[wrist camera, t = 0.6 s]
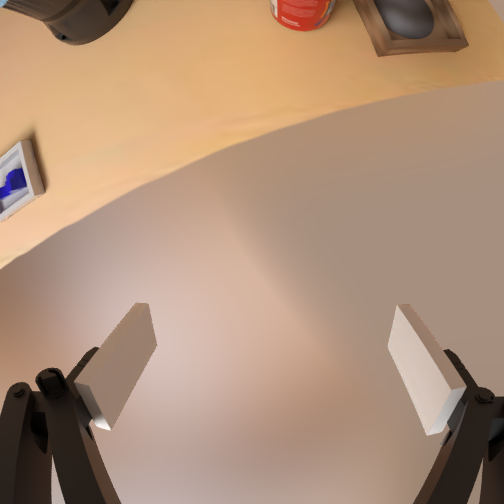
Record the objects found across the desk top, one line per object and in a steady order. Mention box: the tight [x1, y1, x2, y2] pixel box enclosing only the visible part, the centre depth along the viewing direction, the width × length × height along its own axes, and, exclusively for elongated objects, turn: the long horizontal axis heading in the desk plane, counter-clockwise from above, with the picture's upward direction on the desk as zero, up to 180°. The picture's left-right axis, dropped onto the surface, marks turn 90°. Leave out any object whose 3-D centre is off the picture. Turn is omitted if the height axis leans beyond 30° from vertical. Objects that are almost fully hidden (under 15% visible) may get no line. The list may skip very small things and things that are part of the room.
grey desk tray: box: [0, 140, 45, 222], centre depth 39 cm, size 10×14×3 cm
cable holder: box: [0, 168, 27, 201], centre depth 38 cm, size 8×4×4 cm, turn 102°
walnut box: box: [353, 0, 469, 57], centre depth 26 cm, size 14×14×4 cm
